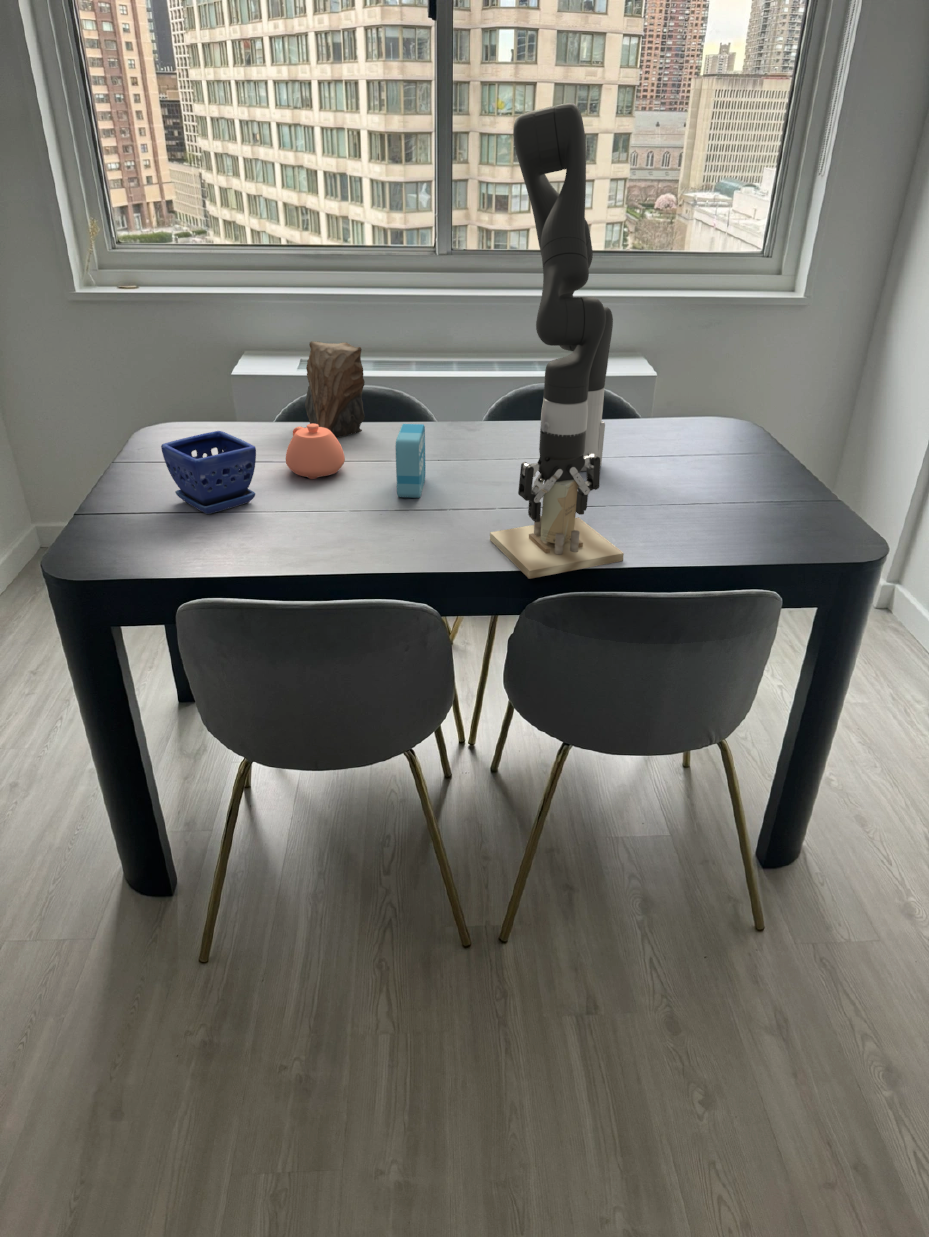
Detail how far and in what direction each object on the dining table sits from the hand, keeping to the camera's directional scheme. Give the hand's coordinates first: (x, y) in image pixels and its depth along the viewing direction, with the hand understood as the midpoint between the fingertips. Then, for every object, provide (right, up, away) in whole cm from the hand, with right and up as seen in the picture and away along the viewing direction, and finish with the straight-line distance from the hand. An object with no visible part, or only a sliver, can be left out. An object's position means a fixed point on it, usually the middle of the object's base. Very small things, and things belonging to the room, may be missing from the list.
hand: (557, 516), depth 151 cm
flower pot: (-65, +5, +20) cm, 68 cm away
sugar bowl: (-48, +14, +35) cm, 61 cm away
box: (0, -4, +2) cm, 4 cm away
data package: (-27, +9, +27) cm, 39 cm away
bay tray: (0, -5, +3) cm, 6 cm away
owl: (-48, +27, +57) cm, 79 cm away
